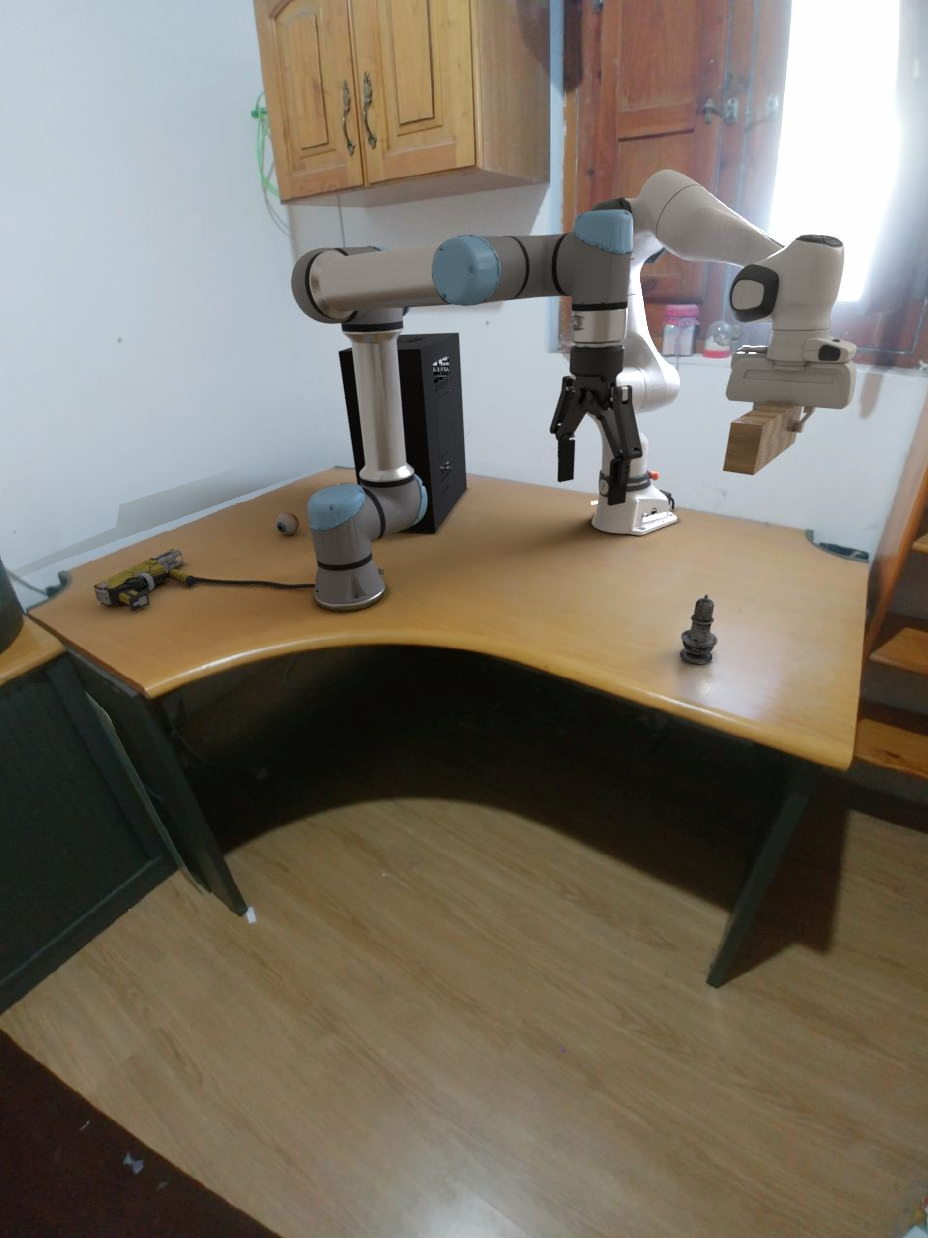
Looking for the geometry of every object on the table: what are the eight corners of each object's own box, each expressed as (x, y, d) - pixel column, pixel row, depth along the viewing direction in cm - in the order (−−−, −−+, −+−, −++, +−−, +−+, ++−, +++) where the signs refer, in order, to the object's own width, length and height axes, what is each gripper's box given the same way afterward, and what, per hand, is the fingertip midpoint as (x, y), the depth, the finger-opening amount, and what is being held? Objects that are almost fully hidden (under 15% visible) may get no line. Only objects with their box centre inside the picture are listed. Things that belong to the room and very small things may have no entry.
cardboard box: (435, 533, 160) (420, 348, 138) (363, 530, 165) (338, 351, 142) (466, 488, 192) (459, 332, 169) (406, 486, 196) (390, 334, 174)
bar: (766, 439, 114) (775, 396, 110) (794, 442, 111) (804, 398, 107) (722, 470, 99) (730, 421, 95) (753, 475, 96) (763, 425, 92)
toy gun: (219, 557, 146) (169, 546, 150) (142, 598, 126) (87, 585, 129) (222, 574, 148) (172, 563, 152) (147, 618, 128) (92, 604, 132)
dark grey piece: (716, 666, 102) (728, 603, 96) (680, 663, 103) (689, 601, 97) (711, 647, 107) (722, 587, 101) (676, 645, 108) (685, 585, 102)
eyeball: (273, 537, 164) (268, 516, 161) (287, 528, 169) (282, 508, 166) (291, 539, 161) (286, 518, 158) (305, 530, 166) (301, 510, 163)
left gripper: (529, 340, 93) (528, 475, 103) (633, 353, 73) (619, 520, 83) (570, 335, 95) (565, 468, 106) (681, 347, 75) (662, 509, 86)
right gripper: (727, 347, 106) (715, 427, 113) (859, 351, 95) (836, 440, 102) (739, 343, 110) (726, 420, 117) (868, 346, 99) (845, 432, 106)
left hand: (589, 491), depth 95 cm, fingers open, 13 cm apart
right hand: (778, 429), depth 109 cm, fingers closed on bar, 5 cm apart
